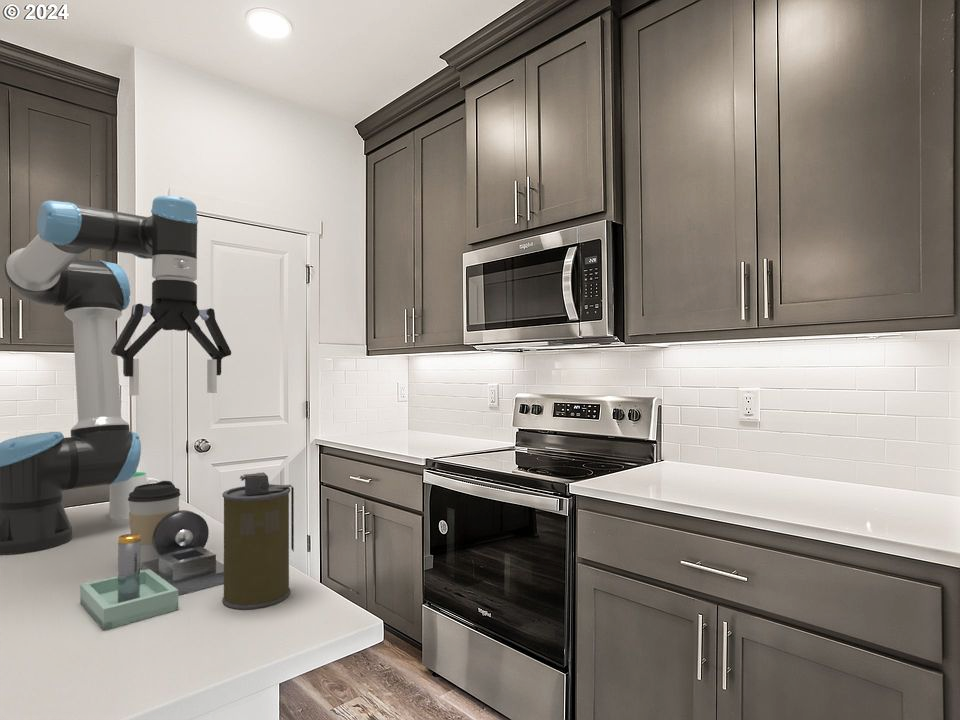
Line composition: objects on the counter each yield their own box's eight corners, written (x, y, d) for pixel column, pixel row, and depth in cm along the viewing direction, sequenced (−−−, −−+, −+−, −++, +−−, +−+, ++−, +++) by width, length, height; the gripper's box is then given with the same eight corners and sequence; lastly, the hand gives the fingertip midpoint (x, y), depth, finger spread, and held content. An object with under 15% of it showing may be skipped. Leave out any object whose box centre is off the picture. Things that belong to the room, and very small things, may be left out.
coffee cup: (157, 570, 109) (157, 489, 109) (115, 567, 110) (116, 487, 111) (190, 555, 117) (190, 480, 118) (151, 552, 119) (151, 478, 120)
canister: (224, 614, 89) (224, 482, 89) (220, 591, 98) (220, 472, 98) (298, 601, 94) (298, 476, 94) (287, 580, 103) (287, 466, 103)
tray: (80, 603, 93) (80, 584, 94) (149, 586, 101) (149, 568, 101) (103, 630, 84) (103, 609, 84) (178, 609, 91) (178, 590, 91)
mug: (157, 507, 158) (157, 469, 158) (167, 512, 152) (167, 472, 153) (106, 515, 150) (106, 475, 150) (114, 521, 144) (114, 479, 144)
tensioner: (141, 573, 107) (141, 513, 107) (198, 560, 114) (198, 504, 114) (171, 597, 96) (171, 529, 96) (232, 581, 103) (232, 518, 103)
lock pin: (115, 599, 92) (116, 536, 92) (136, 594, 94) (137, 532, 94) (120, 605, 90) (121, 540, 90) (142, 599, 92) (143, 536, 92)
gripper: (103, 270, 98) (102, 397, 98) (248, 285, 116) (248, 392, 116) (92, 276, 104) (91, 395, 103) (232, 289, 121) (232, 391, 121)
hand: (174, 394), depth 110 cm, fingers open, 13 cm apart
